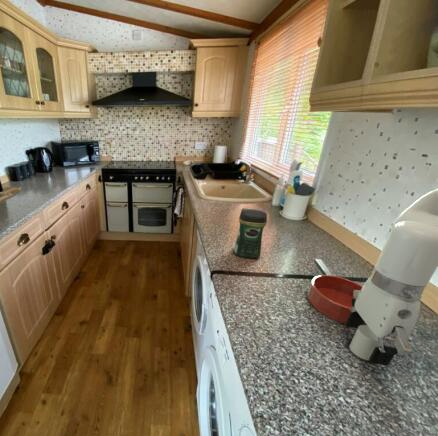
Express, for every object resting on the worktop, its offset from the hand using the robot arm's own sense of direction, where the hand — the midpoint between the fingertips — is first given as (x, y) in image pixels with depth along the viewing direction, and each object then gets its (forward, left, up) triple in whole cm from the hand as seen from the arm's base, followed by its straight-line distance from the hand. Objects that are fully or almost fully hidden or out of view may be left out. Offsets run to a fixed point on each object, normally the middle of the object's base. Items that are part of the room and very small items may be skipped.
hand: (364, 343), depth 55 cm
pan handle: (-2, -29, +1) cm, 29 cm away
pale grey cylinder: (0, 0, -3) cm, 3 cm away
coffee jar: (+20, -40, -3) cm, 45 cm away
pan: (-2, -16, -3) cm, 16 cm away
